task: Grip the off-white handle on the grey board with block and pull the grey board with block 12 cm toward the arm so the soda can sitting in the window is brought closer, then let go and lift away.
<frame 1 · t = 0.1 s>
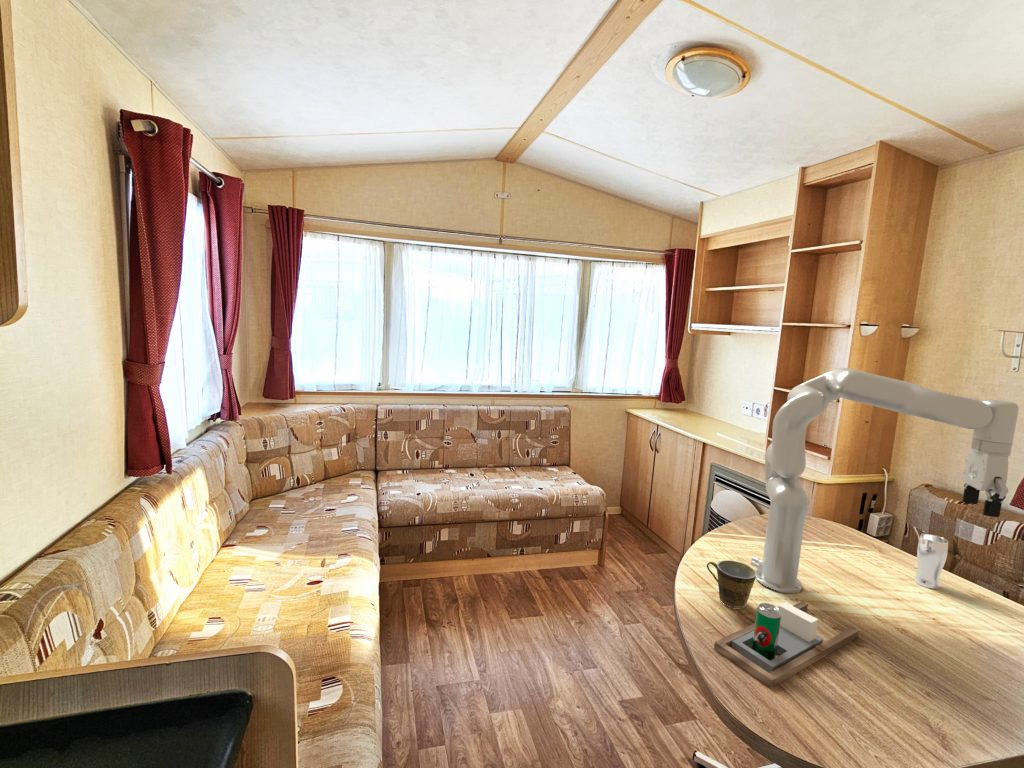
hand: (979, 509, 131), 31 cm above the table, tool pointing down, fingers open, 9 cm apart
track: (790, 641, 121), on the table
ceramic cup: (727, 600, 138), on the table
grey board with block: (778, 634, 118), point 4 cm above the table, slide at 0.0 cm
beer glass: (926, 584, 152), on the table
soda can: (763, 656, 115), resting in grey board with block
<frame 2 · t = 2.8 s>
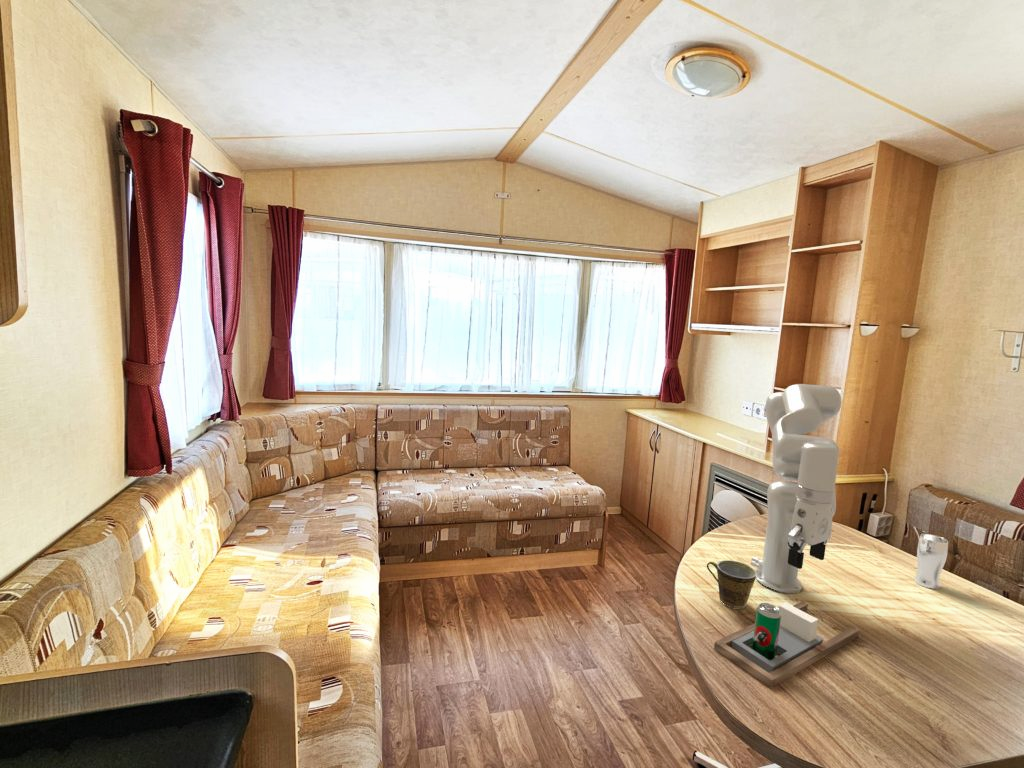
hand: (805, 561, 119), 20 cm above the table, tool pointing down, fingers open, 9 cm apart
nothing on the table moved.
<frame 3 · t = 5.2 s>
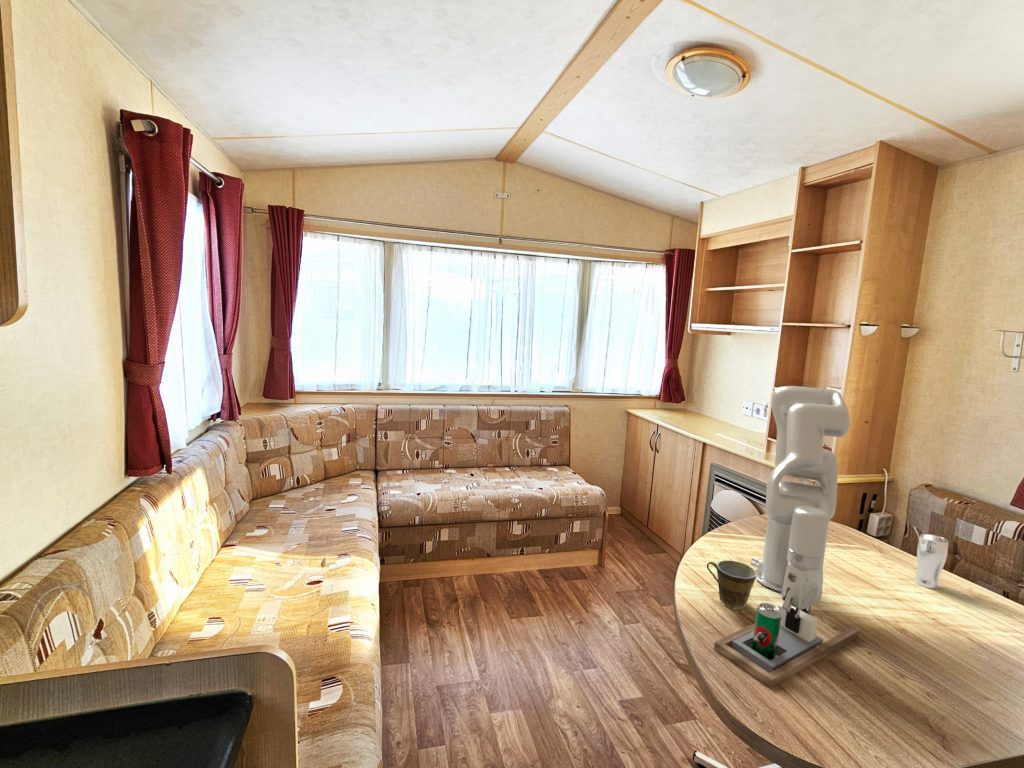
hand: (796, 627, 122), 3 cm above the table, tool pointing down, fingers closed on grey board with block, 3 cm apart
grey board with block: (778, 634, 118), point 4 cm above the table, slide at 0.0 cm, touching gripper
everything else where it was.
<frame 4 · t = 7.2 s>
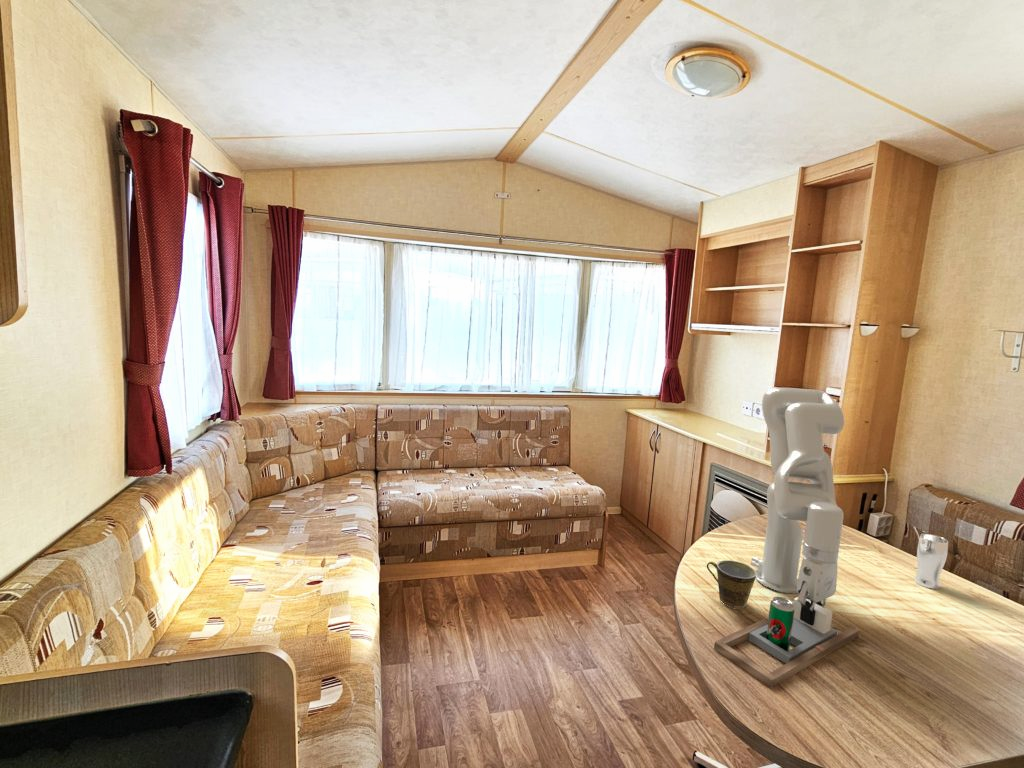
hand: (810, 619, 125), 3 cm above the table, tool pointing down, fingers closed on grey board with block, 3 cm apart
grey board with block: (794, 626, 121), point 4 cm above the table, slide at 6.7 cm, touching gripper, soda can
soda can: (777, 648, 118), resting in grey board with block
everything else where it was.
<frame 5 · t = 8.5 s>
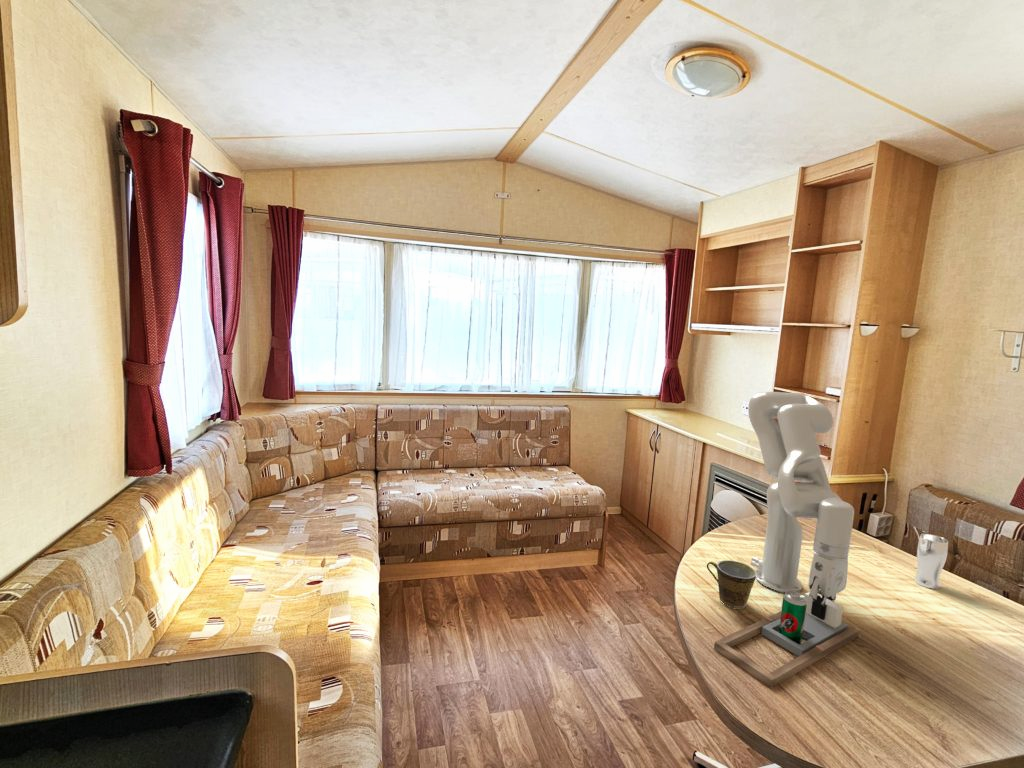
hand: (821, 614, 128), 3 cm above the table, tool pointing down, fingers closed on grey board with block, 3 cm apart
grey board with block: (806, 620, 124), point 4 cm above the table, slide at 11.9 cm, touching gripper, soda can
soda can: (789, 642, 121), resting in grey board with block
everything else where it was.
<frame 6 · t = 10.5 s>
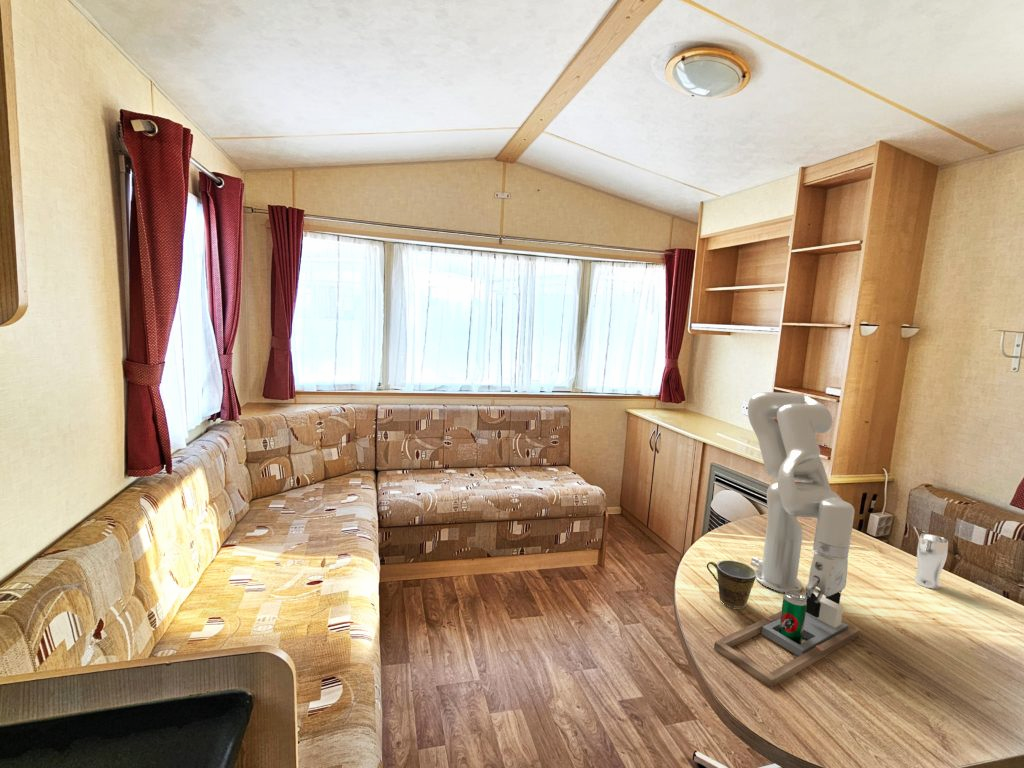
hand: (822, 609, 128), 4 cm above the table, tool pointing down, fingers open, 9 cm apart
grey board with block: (806, 620, 124), point 4 cm above the table, slide at 12.0 cm
soda can: (789, 642, 121), resting in grey board with block
everything else where it was.
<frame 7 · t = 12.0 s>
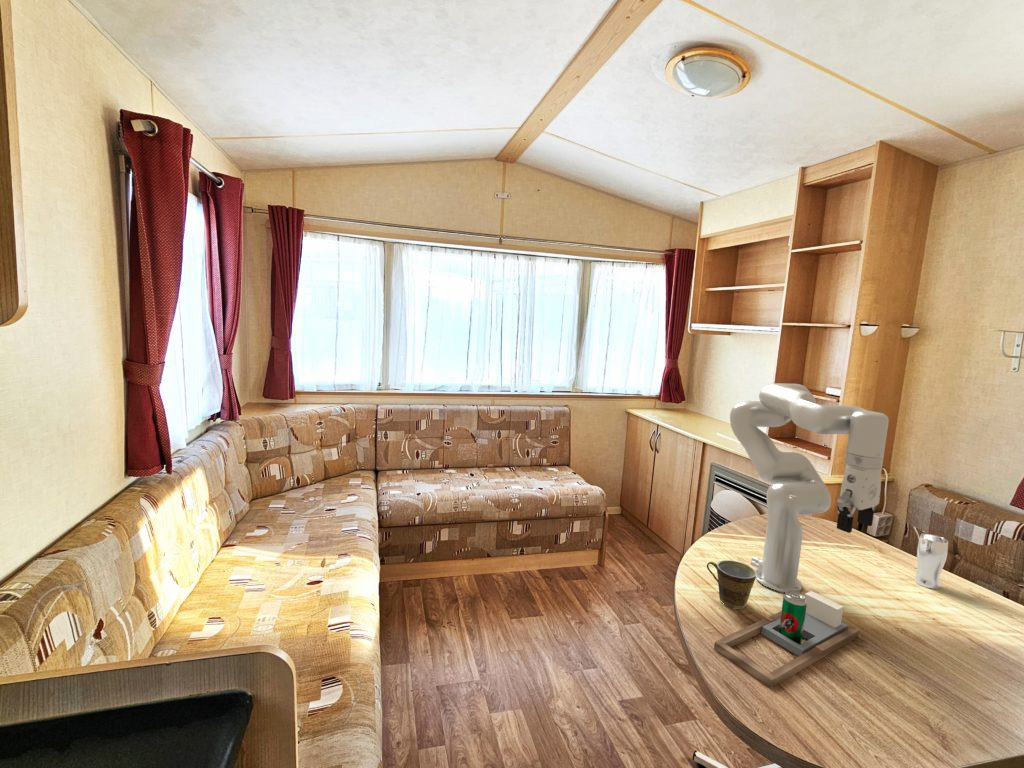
hand: (854, 527, 123), 28 cm above the table, tool pointing down, fingers open, 9 cm apart
nothing on the table moved.
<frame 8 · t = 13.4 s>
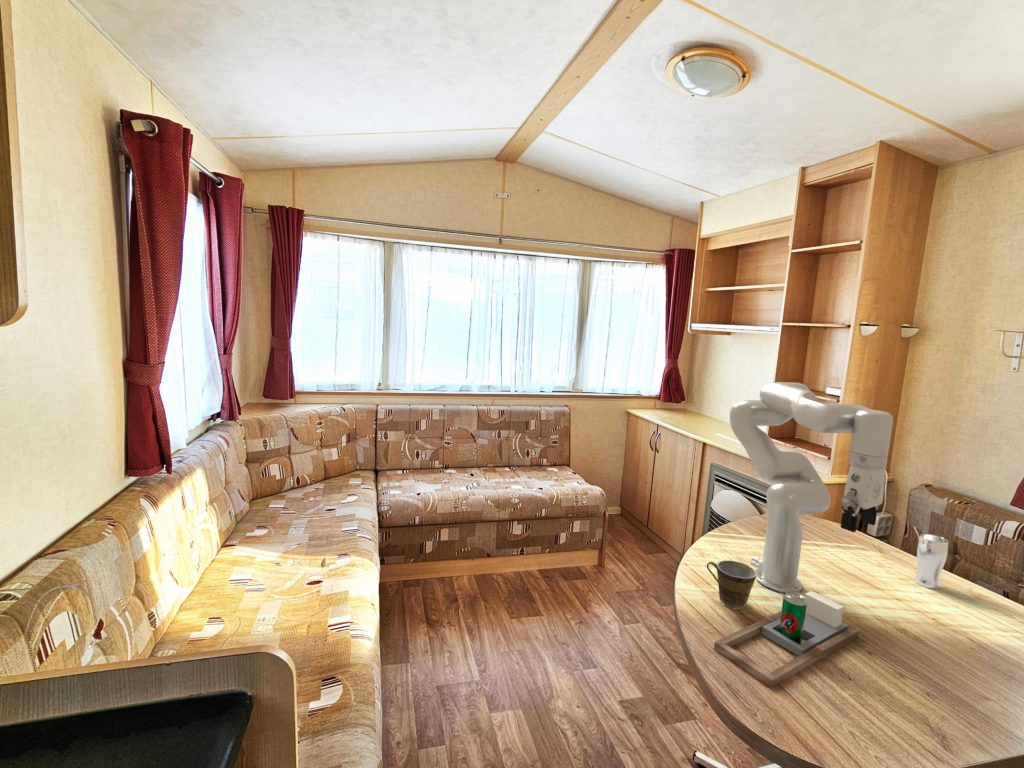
hand: (857, 526, 123), 28 cm above the table, tool pointing down, fingers open, 9 cm apart
nothing on the table moved.
at the end: grey board with block slide at 12.0 cm; soda can inside the target area (1.0 cm from its centre), resting in grey board with block; soda can tilted 0° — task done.
